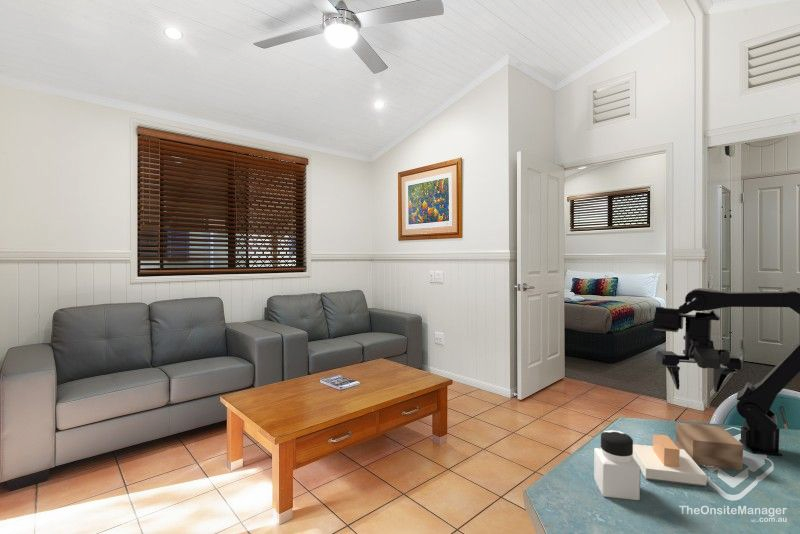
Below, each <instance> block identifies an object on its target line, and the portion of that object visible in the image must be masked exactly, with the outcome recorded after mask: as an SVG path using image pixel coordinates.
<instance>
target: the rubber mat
mask: <svg viewBox="0 0 800 534" xmlns="http://www.w3.org/2000/svg"><path fill="white" fill-rule="evenodd" d="M645 480H647V481H654V482H662V483H672V484H679V485H687V486H694V487H695V486H696V487H705V485H700V484H691V483H683V482H675V481H666V480H658V479H650V478H645Z"/></svg>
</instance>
